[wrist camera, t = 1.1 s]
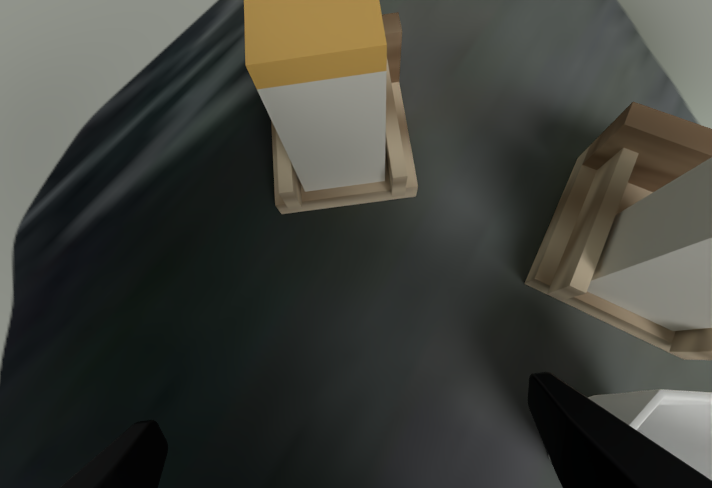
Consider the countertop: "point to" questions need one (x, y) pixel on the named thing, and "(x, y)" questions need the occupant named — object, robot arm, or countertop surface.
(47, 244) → the countertop surface
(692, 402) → the cup
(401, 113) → the guide
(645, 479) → the robot arm
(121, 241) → the countertop surface
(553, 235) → the guide
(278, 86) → the button
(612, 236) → the button
